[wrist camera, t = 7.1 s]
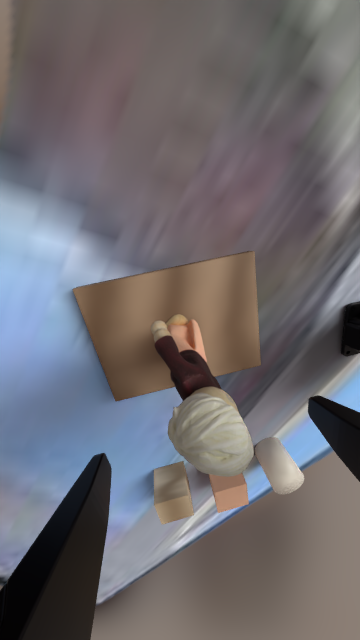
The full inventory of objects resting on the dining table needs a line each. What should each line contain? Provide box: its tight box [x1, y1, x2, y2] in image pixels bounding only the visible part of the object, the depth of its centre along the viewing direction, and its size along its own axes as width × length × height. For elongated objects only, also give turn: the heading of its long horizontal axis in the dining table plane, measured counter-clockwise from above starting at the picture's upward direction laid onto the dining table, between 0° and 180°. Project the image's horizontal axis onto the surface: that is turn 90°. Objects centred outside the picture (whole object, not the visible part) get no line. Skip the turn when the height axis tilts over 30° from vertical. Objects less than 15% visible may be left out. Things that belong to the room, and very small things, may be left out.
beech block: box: [154, 461, 194, 524], centre depth 25 cm, size 4×4×4 cm
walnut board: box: [73, 251, 261, 401], centre depth 19 cm, size 16×12×1 cm
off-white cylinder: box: [254, 437, 304, 494], centre depth 26 cm, size 4×4×4 cm
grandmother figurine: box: [151, 314, 254, 477], centre depth 13 cm, size 8×4×13 cm, turn 44°
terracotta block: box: [209, 473, 249, 513], centre depth 26 cm, size 4×4×4 cm
